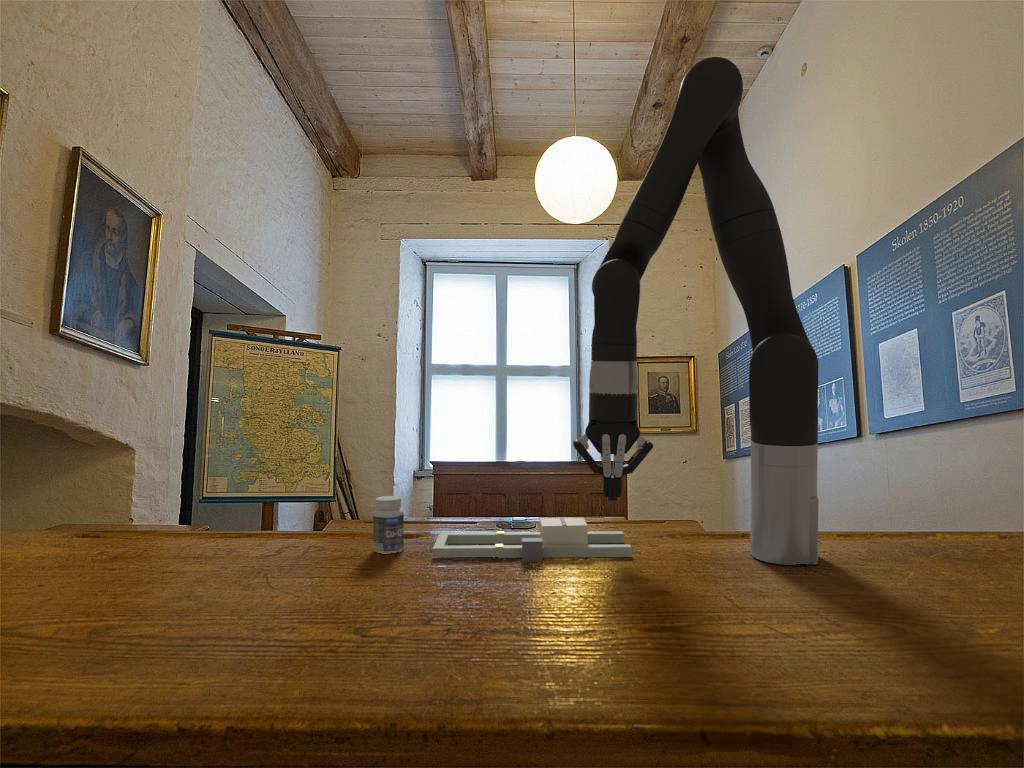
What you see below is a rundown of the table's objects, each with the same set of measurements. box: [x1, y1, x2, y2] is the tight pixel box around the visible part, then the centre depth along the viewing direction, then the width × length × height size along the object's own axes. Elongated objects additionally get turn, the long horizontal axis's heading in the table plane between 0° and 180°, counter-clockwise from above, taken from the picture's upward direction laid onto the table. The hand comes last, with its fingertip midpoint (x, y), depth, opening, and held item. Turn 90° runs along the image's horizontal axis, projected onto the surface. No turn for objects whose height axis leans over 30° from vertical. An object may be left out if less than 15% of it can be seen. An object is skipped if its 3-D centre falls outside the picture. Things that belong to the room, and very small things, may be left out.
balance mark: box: [494, 530, 505, 548], centre depth 107 cm, size 1×9×1 cm, turn 179°
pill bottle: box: [372, 495, 405, 552], centre depth 107 cm, size 5×5×8 cm
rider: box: [539, 516, 589, 545], centre depth 107 cm, size 7×5×5 cm
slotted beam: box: [432, 530, 633, 563], centre depth 106 cm, size 30×11×3 cm, turn 89°
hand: (611, 499), depth 107 cm, fingers closed
